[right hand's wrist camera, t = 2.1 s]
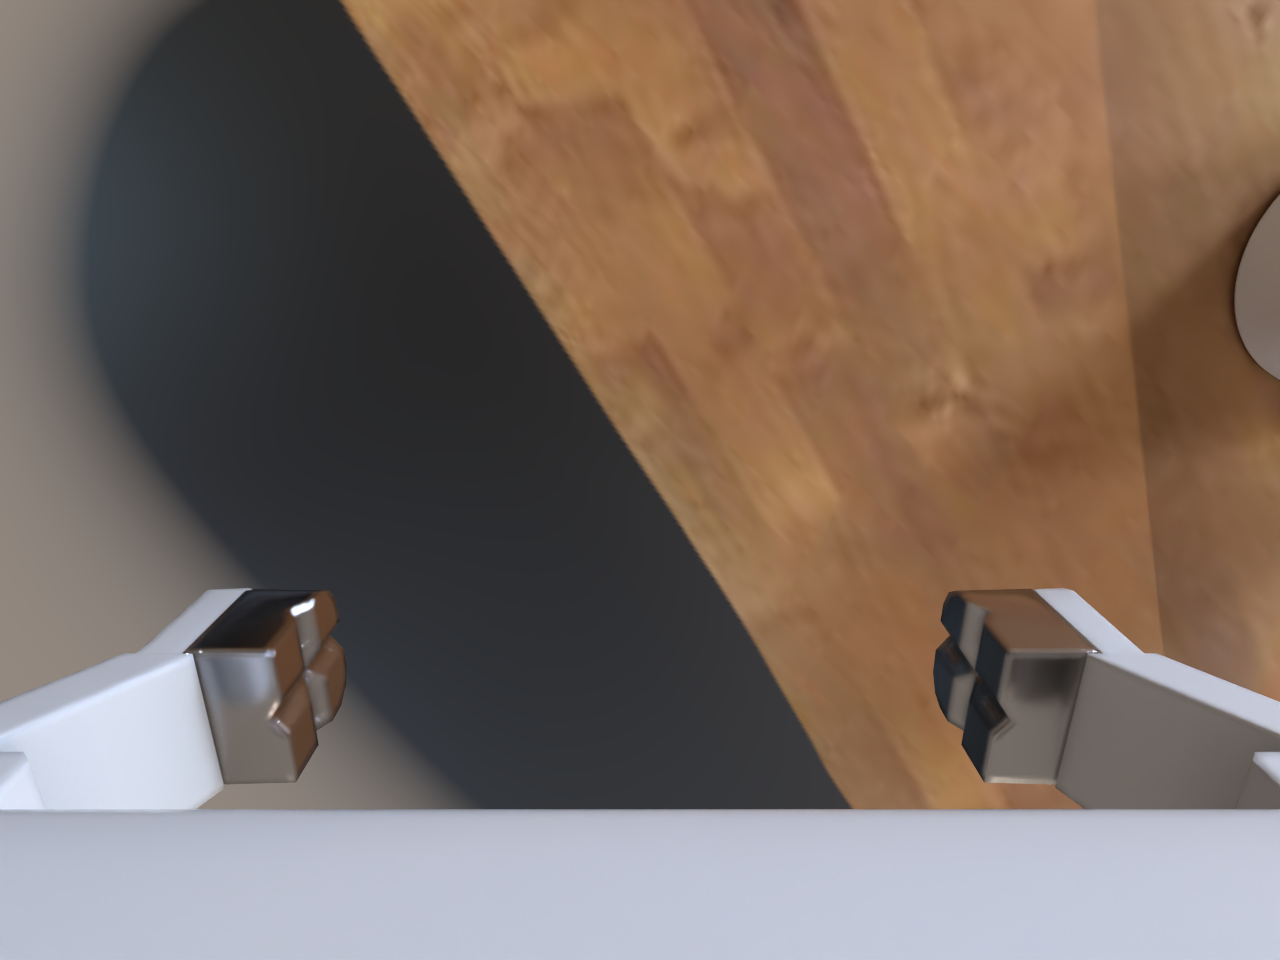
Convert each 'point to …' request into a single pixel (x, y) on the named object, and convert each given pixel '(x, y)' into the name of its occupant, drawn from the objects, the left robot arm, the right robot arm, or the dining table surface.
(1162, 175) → the dining table surface
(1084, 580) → the dining table surface
